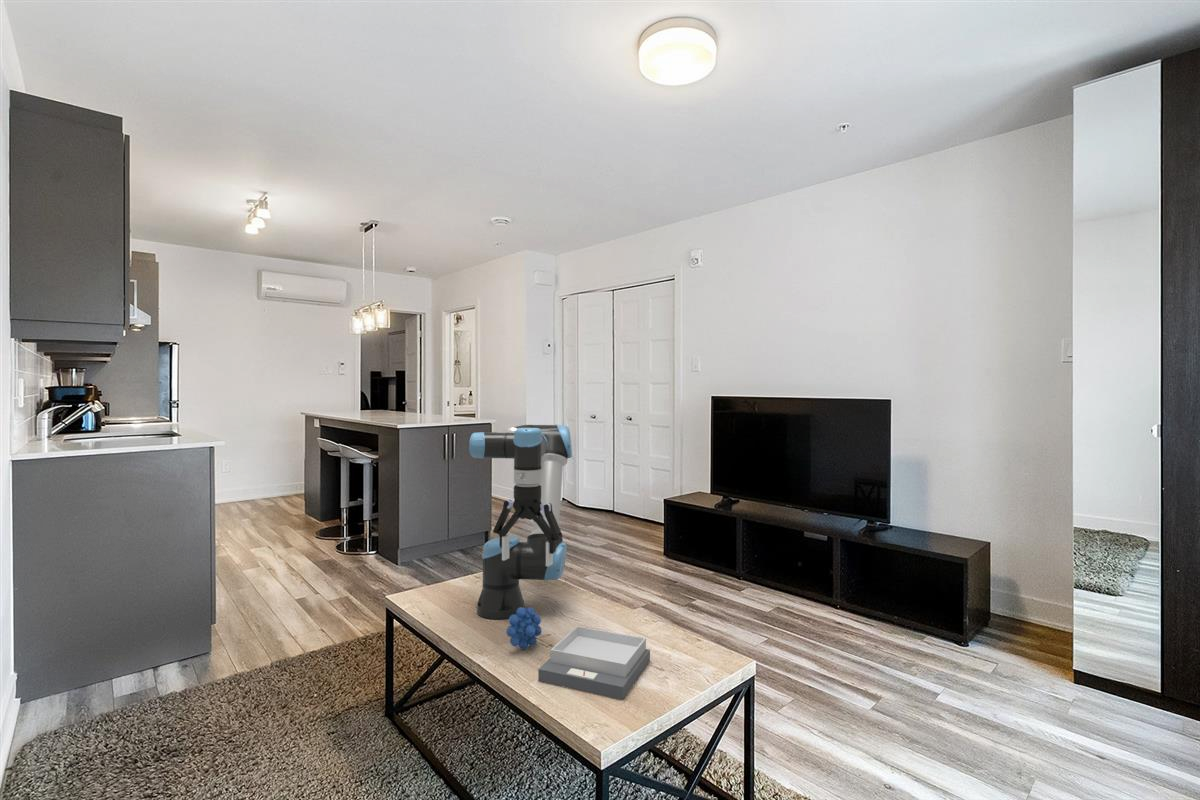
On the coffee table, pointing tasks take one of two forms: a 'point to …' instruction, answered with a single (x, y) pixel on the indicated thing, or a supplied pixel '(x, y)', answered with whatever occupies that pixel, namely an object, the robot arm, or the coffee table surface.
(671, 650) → the coffee table surface
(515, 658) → the coffee table surface
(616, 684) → the scale
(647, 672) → the coffee table surface
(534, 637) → the grapes
